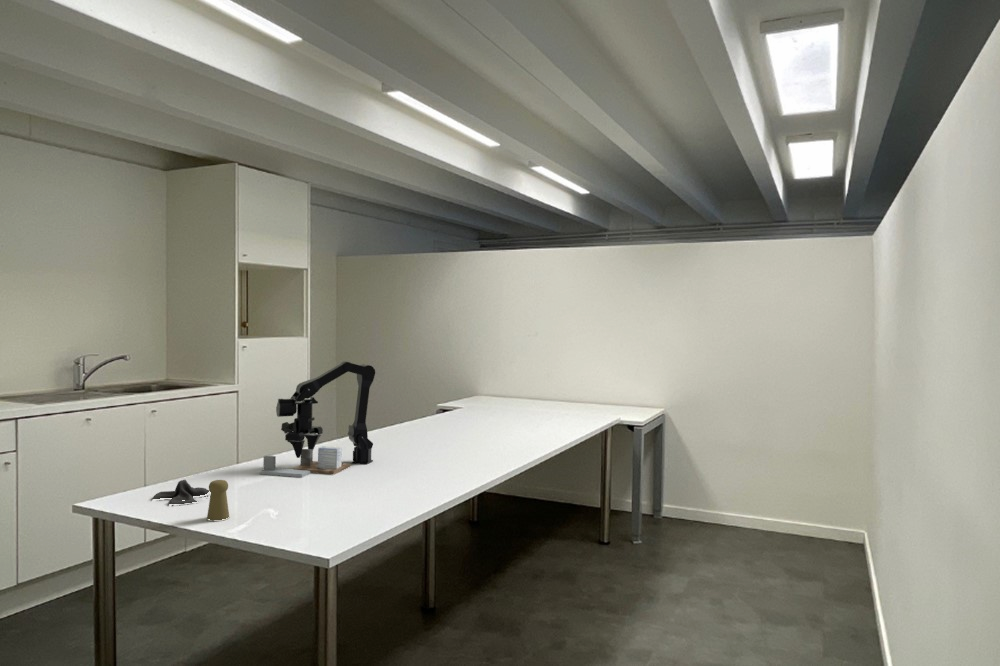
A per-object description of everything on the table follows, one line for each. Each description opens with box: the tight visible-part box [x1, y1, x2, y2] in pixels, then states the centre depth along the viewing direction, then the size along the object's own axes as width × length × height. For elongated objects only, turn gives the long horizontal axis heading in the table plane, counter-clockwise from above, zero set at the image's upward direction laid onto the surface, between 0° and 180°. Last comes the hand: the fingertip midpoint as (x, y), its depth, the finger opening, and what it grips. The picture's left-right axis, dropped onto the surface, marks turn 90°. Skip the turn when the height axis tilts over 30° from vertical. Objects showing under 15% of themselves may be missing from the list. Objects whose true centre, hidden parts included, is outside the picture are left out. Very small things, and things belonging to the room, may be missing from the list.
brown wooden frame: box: [292, 448, 351, 475], centre depth 262 cm, size 17×14×7 cm
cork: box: [206, 479, 230, 520], centre depth 197 cm, size 6×6×11 cm
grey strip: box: [259, 455, 311, 478], centre depth 252 cm, size 17×6×6 cm, turn 77°
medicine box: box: [317, 445, 343, 470], centre depth 260 cm, size 8×4×9 cm, turn 79°
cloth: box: [151, 479, 209, 505], centre depth 220 cm, size 22×19×6 cm
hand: (304, 455), depth 263 cm, fingers open, 9 cm apart
